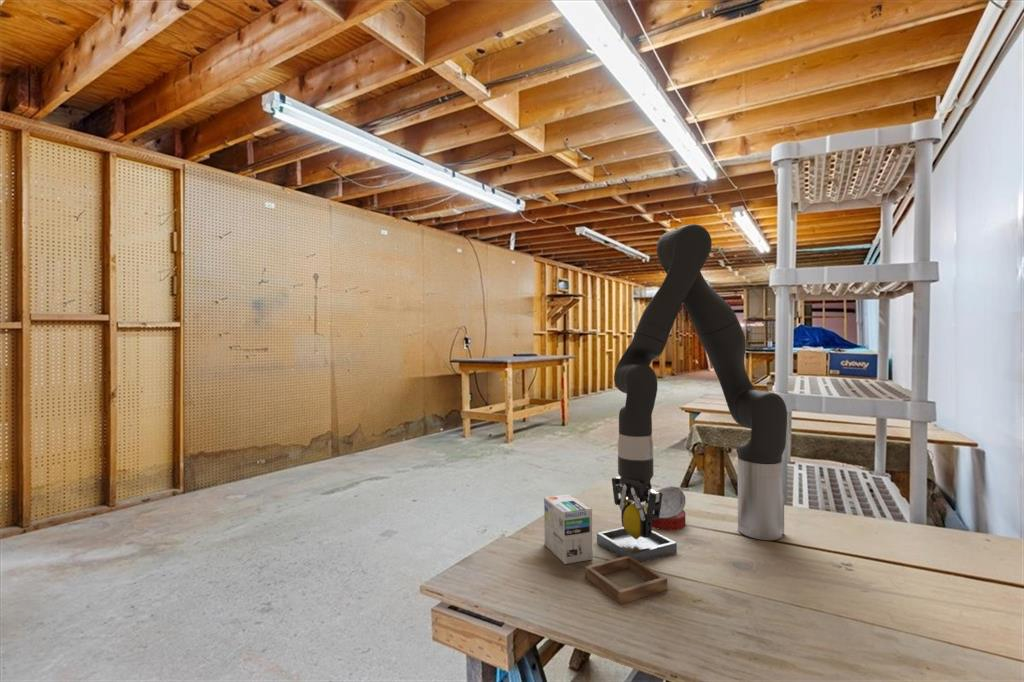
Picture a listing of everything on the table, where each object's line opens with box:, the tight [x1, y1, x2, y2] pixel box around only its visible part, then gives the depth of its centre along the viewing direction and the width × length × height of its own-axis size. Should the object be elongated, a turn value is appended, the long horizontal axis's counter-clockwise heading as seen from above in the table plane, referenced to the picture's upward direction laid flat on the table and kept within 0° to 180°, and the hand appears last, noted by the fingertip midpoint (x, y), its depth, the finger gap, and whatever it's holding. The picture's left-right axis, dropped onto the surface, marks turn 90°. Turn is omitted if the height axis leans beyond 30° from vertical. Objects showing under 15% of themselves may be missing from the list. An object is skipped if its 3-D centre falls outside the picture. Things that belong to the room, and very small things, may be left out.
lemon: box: [623, 502, 647, 539], centre depth 106 cm, size 6×6×8 cm
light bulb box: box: [543, 493, 594, 565], centre depth 104 cm, size 11×7×11 cm, turn 20°
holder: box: [584, 555, 668, 605], centre depth 90 cm, size 11×11×2 cm
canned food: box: [644, 485, 687, 531], centre depth 120 cm, size 11×10×10 cm
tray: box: [596, 526, 678, 564], centre depth 106 cm, size 12×12×2 cm
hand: (636, 531), depth 106 cm, fingers closed on lemon, 5 cm apart
